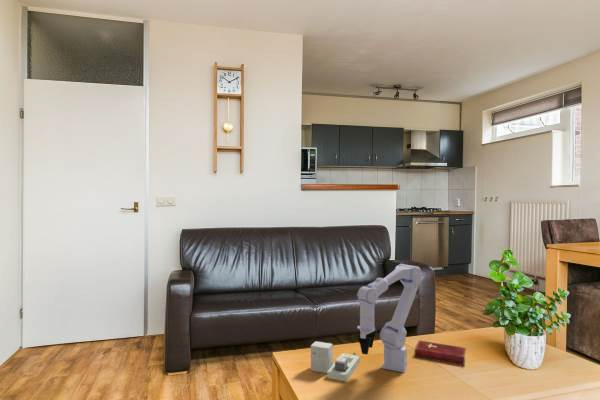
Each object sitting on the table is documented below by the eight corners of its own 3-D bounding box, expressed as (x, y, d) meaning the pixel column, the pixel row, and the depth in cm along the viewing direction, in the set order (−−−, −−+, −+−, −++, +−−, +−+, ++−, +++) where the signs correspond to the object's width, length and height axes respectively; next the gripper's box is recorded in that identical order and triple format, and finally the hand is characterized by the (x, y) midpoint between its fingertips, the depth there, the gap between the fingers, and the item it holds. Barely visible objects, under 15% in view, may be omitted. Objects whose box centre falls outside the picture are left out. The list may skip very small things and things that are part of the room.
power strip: (363, 356, 173) (363, 350, 173) (346, 381, 149) (346, 374, 149) (346, 353, 176) (346, 347, 176) (327, 377, 152) (327, 371, 152)
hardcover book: (464, 366, 164) (464, 356, 164) (414, 357, 173) (414, 348, 173) (466, 356, 174) (466, 347, 174) (419, 348, 184) (419, 339, 184)
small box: (333, 368, 160) (333, 343, 160) (328, 374, 155) (328, 348, 155) (315, 365, 164) (315, 340, 164) (310, 370, 159) (310, 345, 159)
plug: (347, 372, 156) (347, 357, 156) (344, 377, 152) (344, 361, 152) (338, 371, 158) (338, 356, 158) (334, 375, 154) (335, 360, 154)
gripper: (362, 311, 163) (362, 342, 163) (352, 320, 150) (352, 355, 150) (378, 313, 160) (378, 345, 160) (370, 323, 147) (370, 358, 147)
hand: (367, 350), depth 155 cm, fingers open, 7 cm apart
